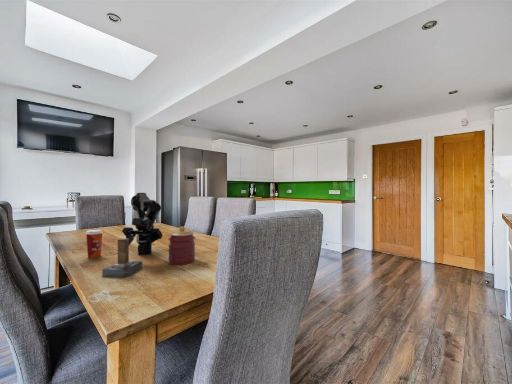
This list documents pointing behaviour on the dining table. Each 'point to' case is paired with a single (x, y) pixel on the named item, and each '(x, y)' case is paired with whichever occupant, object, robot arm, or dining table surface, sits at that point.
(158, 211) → the robot arm
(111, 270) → the holder block
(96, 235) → the paper cup
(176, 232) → the canister
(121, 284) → the dining table surface
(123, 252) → the slot cleaner tool
